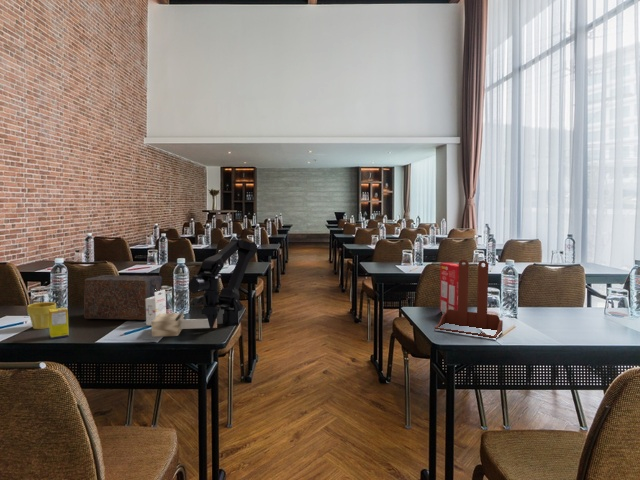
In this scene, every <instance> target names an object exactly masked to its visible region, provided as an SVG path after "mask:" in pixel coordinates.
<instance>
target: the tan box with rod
mask: <svg viewBox="0 0 640 480" xmlns="http://www.w3.org/2000/svg"><path fill="white" fill-rule="evenodd" d="M183 319H185V318H184V310H181V311H180V312H173V313H171V312H170V313H169V312H168V313H167V312H166V314H158V315H157V317H156V318H155V319H154V320H153V321H152V325H151V337H154V338H155V337H177V336H179V335H180V334H181V332H182V331H183V329H181V320H183Z"/></svg>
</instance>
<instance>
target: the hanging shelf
mask: <svg viewBox="0 0 640 480" xmlns="http://www.w3.org/2000/svg"><path fill="white" fill-rule="evenodd" d="M463 263H465V264H463ZM482 264H484V266H483V265H482ZM458 265H459V276H458V310H452V309H449V310H448V311H447V313H444V314H442V315H441V317H440V320H439V322H438V324H437V325H436V326H434V330H435V329H440V330H446V331H452V332H459V333H466V334H472V335H478V336H483V337H489V338H496V337H497V335H498V334H499V333H500V332H501V331H502V332H503V323H504V322H503V320H501V319H500V317H499V315H498V314H492V313H490V314H489V313H488V297H489V296H488V295H489V293H488V292H489V291H488V290H489V262H487V260H480V261H479V262H478V264H477V292H476V293H477V295H476V296H477V297H476V299H477V300H476V311H469V310H468V309H469V308H468V306H469V305H468V304H469V271H470V270H469V268H470V265H469V261H468V260H467V259H466V258H465V259H464V258H463V259H460V260H459V261H458ZM445 323H449V324H455V325H459V326H469V327H476V328H482V329H491V330H497V332H496V334H495V335H494V336H491V335H486V334H485V333H482V332H481V333H482V334H481V333H480V334H478V333H471V332H464V331H458V330H451V329H444V328H438V327H440V326H441V325H443V324H445Z"/></svg>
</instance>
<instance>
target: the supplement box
mask: <svg viewBox="0 0 640 480" xmlns="http://www.w3.org/2000/svg"><path fill="white" fill-rule="evenodd" d="M68 313H69V311H68V308H66V306H64V307H56V308H54V309H49V328H48V332H49V338H50V340H55V339H60V338H69V335H70V334H69V314H68Z"/></svg>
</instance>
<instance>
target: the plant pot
mask: <svg viewBox="0 0 640 480" xmlns="http://www.w3.org/2000/svg"><path fill="white" fill-rule="evenodd" d="M54 308H57V303H56V302H51V301H50V302H49V301H46V302H45V301H43V302H35V303H29V304H27V306H26V312H27V315H29V317H30V321H31V326H32V329H34V330H43V329H44V330H45V329H49V309H54Z"/></svg>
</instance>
